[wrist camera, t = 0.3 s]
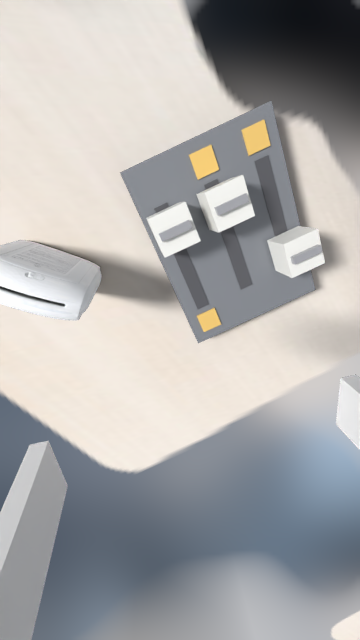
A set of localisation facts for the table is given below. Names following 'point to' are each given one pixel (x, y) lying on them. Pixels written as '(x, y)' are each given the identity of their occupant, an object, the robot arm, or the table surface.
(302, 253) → the slider
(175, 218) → the slider
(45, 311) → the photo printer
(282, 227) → the console
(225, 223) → the slider mid
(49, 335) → the table surface
